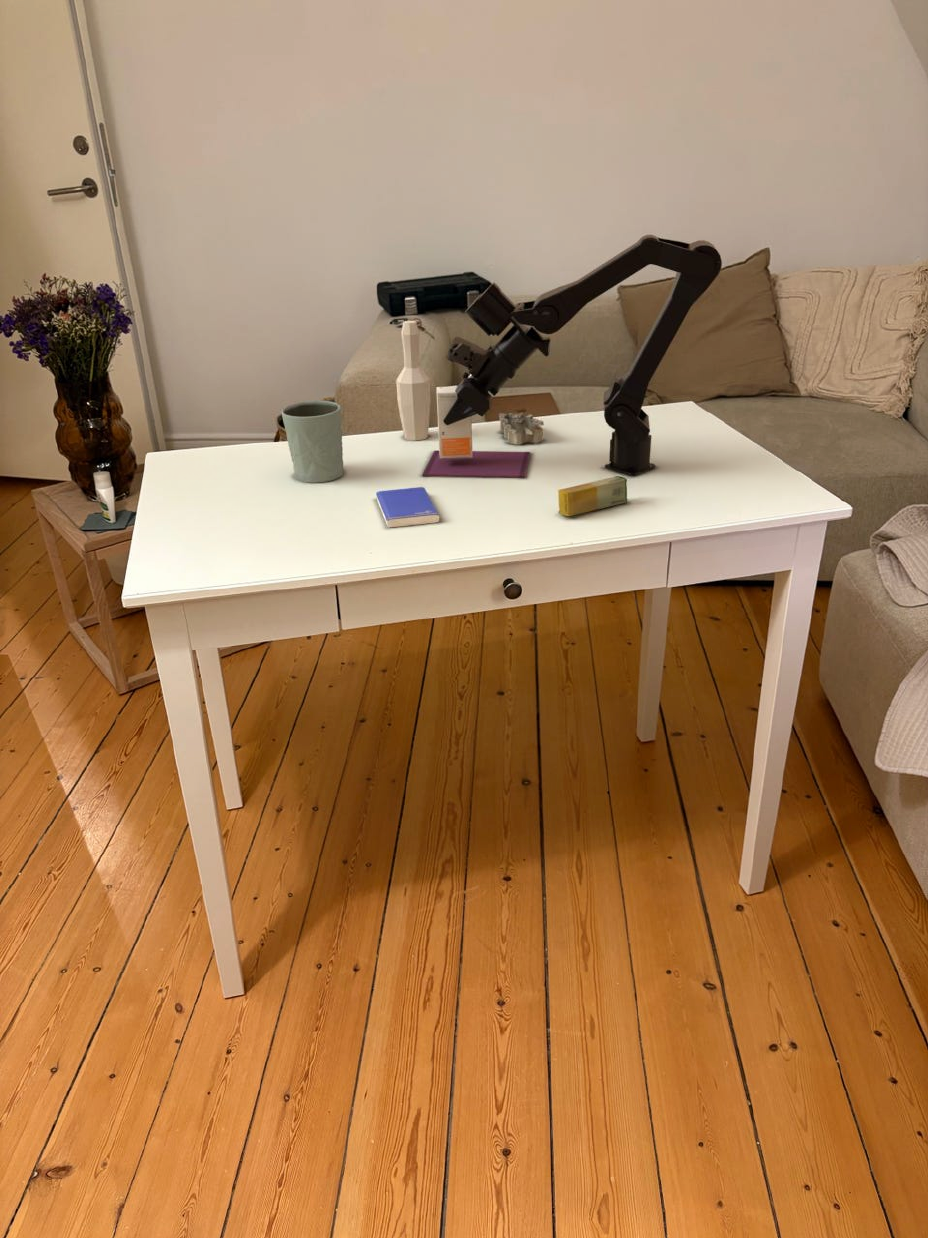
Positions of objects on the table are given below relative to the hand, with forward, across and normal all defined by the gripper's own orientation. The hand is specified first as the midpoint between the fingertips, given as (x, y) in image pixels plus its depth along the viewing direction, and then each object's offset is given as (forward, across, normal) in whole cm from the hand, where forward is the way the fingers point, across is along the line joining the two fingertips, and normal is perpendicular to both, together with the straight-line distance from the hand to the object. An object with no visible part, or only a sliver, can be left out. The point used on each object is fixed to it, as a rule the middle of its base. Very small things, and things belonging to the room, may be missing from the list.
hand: (447, 419), depth 171 cm
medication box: (-12, +20, +25) cm, 34 cm away
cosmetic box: (+4, 0, +6) cm, 7 cm away
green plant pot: (+22, +6, -10) cm, 25 cm away
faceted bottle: (+12, -16, 0) cm, 20 cm away
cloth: (+2, 0, +10) cm, 10 cm away
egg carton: (-2, -17, +14) cm, 22 cm away
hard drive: (+9, +22, +4) cm, 24 cm away
